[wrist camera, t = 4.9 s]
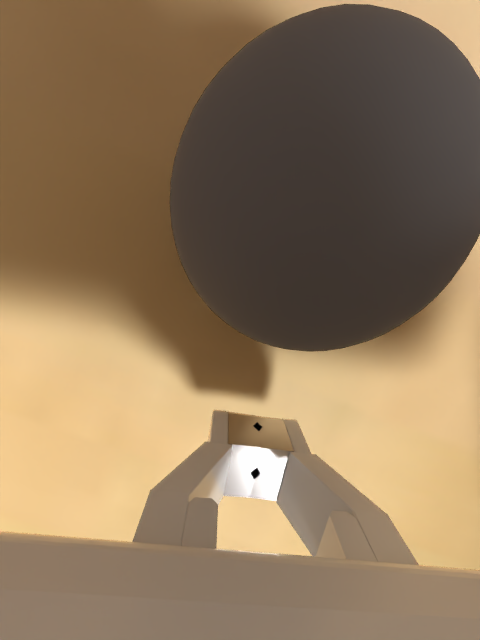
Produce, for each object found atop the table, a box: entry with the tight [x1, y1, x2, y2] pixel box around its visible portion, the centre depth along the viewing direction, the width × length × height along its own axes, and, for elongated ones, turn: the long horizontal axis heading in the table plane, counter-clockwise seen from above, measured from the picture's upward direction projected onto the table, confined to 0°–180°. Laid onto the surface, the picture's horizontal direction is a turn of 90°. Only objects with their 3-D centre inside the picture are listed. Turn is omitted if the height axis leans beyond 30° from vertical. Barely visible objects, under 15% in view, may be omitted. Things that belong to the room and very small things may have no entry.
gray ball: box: [170, 4, 480, 351], centre depth 6 cm, size 6×6×6 cm
